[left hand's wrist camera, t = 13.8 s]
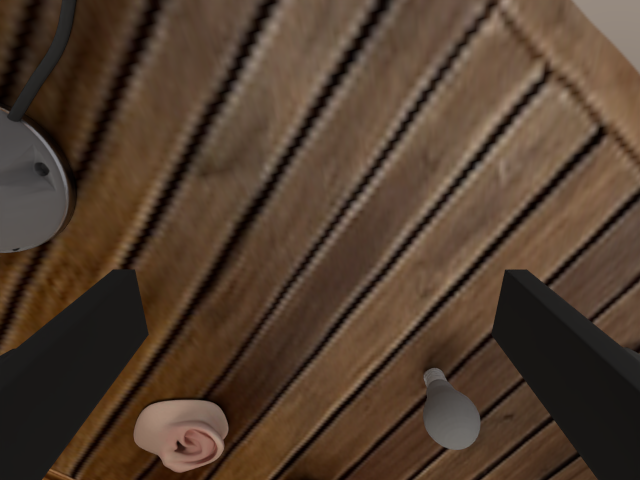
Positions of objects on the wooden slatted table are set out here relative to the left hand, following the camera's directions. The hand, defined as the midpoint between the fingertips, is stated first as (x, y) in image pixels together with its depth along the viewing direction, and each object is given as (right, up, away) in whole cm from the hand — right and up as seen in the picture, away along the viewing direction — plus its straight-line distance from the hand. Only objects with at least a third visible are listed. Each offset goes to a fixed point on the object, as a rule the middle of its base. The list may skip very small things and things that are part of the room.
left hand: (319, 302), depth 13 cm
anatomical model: (-19, -24, +37) cm, 48 cm away
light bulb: (+15, -15, +33) cm, 39 cm away
